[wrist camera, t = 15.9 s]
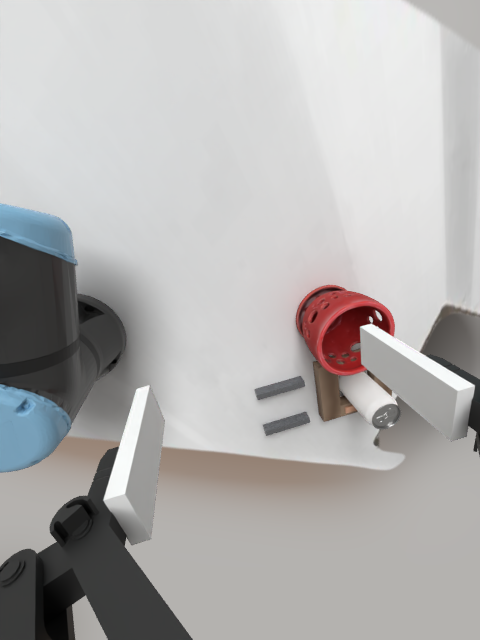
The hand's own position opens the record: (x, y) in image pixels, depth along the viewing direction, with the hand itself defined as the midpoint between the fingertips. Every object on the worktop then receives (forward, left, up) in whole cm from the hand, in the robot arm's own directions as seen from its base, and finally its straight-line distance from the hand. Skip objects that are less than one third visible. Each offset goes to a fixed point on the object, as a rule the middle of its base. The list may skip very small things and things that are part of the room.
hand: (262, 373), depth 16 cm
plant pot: (+18, -13, -32) cm, 39 cm away
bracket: (+7, -31, -32) cm, 45 cm away
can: (+23, -30, -32) cm, 49 cm away
